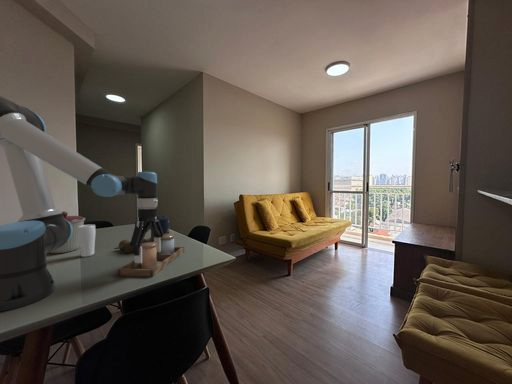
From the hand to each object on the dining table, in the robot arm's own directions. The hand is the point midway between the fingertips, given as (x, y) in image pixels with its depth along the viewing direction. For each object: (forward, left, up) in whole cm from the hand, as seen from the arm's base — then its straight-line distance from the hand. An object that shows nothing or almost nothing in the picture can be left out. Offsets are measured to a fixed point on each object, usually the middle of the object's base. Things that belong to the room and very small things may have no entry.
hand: (148, 256), depth 88 cm
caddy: (+6, 0, -4) cm, 7 cm away
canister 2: (+27, +10, -5) cm, 29 cm away
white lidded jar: (+14, 0, -4) cm, 15 cm away
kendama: (+22, +22, -5) cm, 31 cm away
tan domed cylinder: (0, 0, -4) cm, 4 cm away
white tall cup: (+11, +39, -5) cm, 41 cm away
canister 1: (+17, +58, -5) cm, 61 cm away
